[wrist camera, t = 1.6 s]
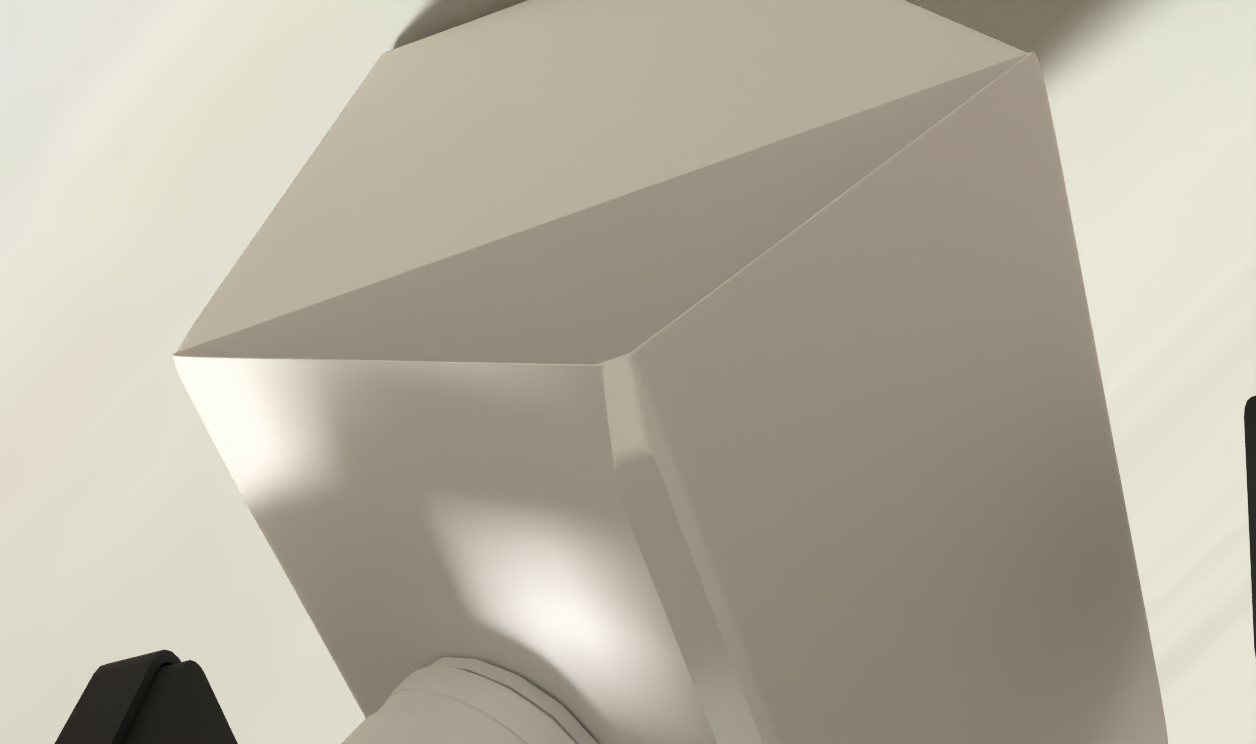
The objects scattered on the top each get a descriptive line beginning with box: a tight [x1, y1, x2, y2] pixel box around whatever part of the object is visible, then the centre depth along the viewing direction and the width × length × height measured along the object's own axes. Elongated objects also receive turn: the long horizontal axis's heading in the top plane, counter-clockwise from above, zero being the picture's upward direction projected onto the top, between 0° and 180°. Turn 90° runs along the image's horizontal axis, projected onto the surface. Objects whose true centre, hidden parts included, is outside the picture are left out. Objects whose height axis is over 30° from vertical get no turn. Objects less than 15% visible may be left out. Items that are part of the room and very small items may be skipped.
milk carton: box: [172, 0, 1168, 744], centre depth 16 cm, size 7×7×19 cm
